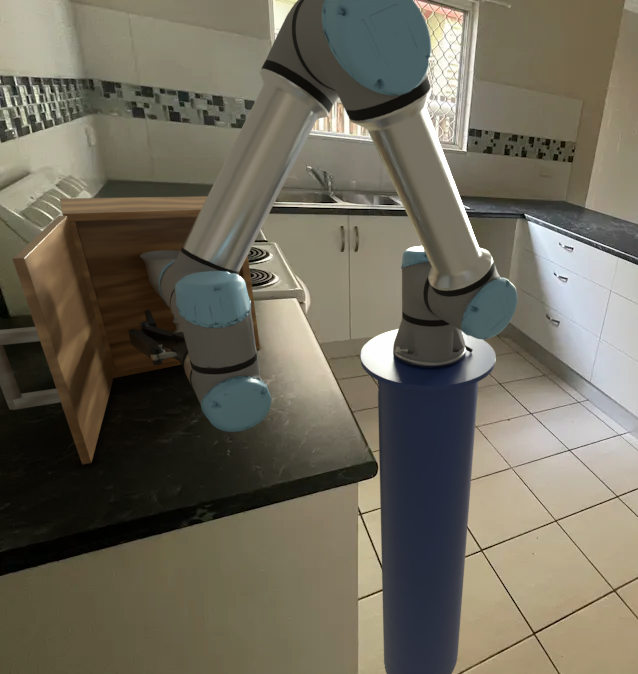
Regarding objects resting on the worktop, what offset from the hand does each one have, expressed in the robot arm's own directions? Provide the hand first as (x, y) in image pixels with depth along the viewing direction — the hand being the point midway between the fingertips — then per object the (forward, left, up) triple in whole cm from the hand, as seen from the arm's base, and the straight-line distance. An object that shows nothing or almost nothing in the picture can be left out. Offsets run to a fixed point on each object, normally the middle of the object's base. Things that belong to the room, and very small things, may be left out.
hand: (184, 312), depth 84 cm
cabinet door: (+11, +16, -11) cm, 23 cm away
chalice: (+4, -8, -10) cm, 13 cm away
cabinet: (+4, -8, -11) cm, 14 cm away
